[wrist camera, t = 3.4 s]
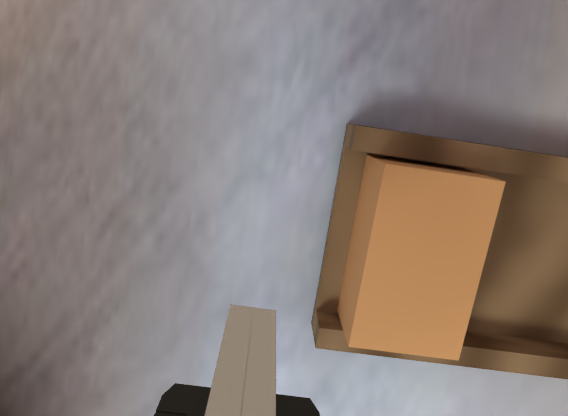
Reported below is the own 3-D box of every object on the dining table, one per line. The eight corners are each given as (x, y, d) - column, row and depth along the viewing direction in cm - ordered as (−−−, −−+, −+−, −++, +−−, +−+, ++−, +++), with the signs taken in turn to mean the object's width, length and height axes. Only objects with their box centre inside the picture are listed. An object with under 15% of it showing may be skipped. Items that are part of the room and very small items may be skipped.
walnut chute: (311, 323, 33) (315, 347, 30) (346, 123, 30) (356, 125, 26) (588, 358, 34) (622, 386, 31) (651, 170, 31) (697, 177, 28)
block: (337, 310, 32) (348, 346, 27) (366, 154, 29) (385, 163, 24) (430, 322, 32) (458, 360, 27) (467, 169, 30) (505, 181, 25)
